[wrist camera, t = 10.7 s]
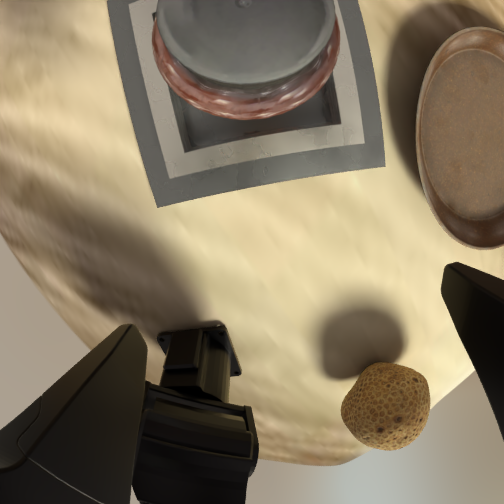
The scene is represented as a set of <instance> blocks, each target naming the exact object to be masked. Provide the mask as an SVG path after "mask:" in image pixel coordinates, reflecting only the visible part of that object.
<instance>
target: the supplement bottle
mask: <svg viewBox="0 0 504 504" xmlns="http://www.w3.org/2000/svg"><path fill="white" fill-rule="evenodd" d="M152 49H153V55H154V60H155V62H156V65H157V67H158V70H159V72H160V74H161V75H162V77H163V79H164V80H165V81H166V83H167V84H168V85H169V86H170V87H171V88H172V89H173V91H174V92H175V93H176V94H177V95H178V96H180V97H181V98H182V99H184V100H185V101H186V102H187V103H189V104H190V105H192V106H194V107H195V108H197V109H199V110H202V111H204V112H207V113H209V114H213V115H216V116H220V117H223V118H229V119H237V120H251V119H263V118H269V117H272V116H276V115H280V114H283V113H285V112H287V111H290V110H293V109H294V108H296V107H297V106H299V105H301V104H303V103H305V102H306V101H307V100H308V99H310V98H311V97H312V96H314V95H315V94H316V93H317V92H318V91H319V90H320V89H321V87H322V86H323V85H324V84H325V83H326V81H327V80H328V78H329V76H330V74H331V73H332V71H333V69H334V67H335V65H336V62H337V59H338V54H339V51H340V29H339V22H338V18H337V15H336V13H335V5H334V0H158V3H157V8H156V17H155V20H154V25H153V30H152Z"/></svg>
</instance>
